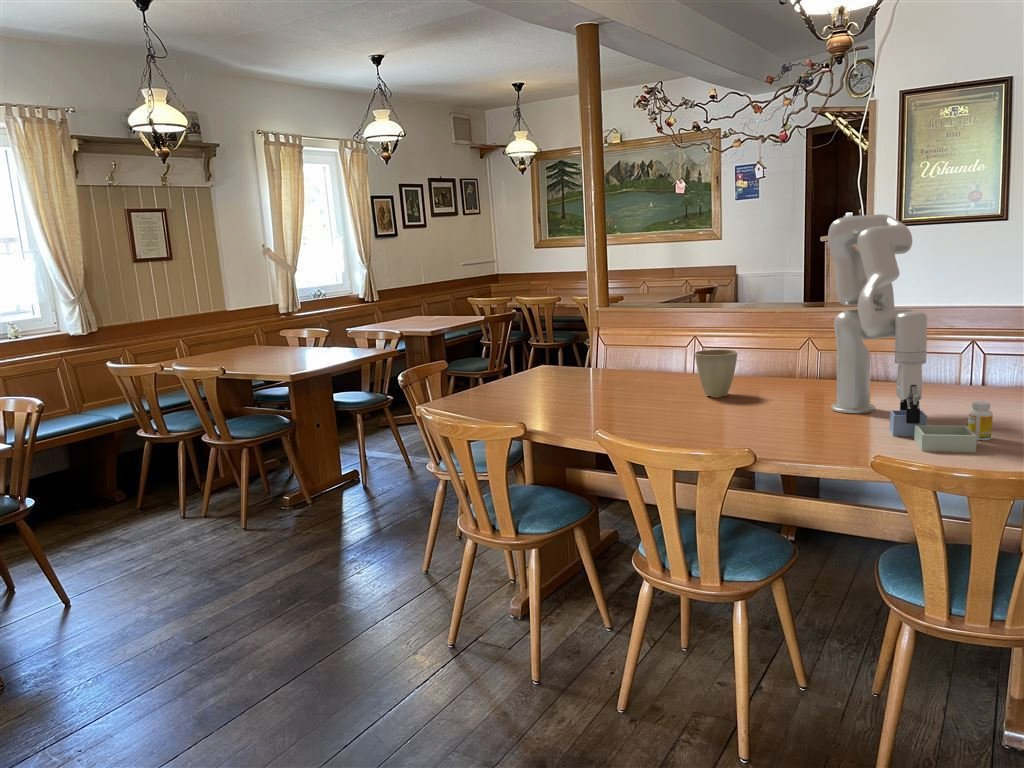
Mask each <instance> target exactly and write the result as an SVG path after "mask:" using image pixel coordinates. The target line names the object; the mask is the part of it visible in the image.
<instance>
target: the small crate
mask: <svg viewBox="0 0 1024 768" xmlns="http://www.w3.org/2000/svg"><path fill="white" fill-rule="evenodd" d="M889 412H890V413H889V414H890V415H889V416H890V417H889V432H890V431H891V432H890V434H891V433H892V434H891V435H892V436H893V437H895V436H914V432H915V425H928V424H927V423H928V415H927V414H926V413H925V412H924V411H923V410H920V423H919V424H907V423H906V410H900V409H899V410H897V409H895V410H893V409H892V410H891V409H890V411H889Z"/></svg>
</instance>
